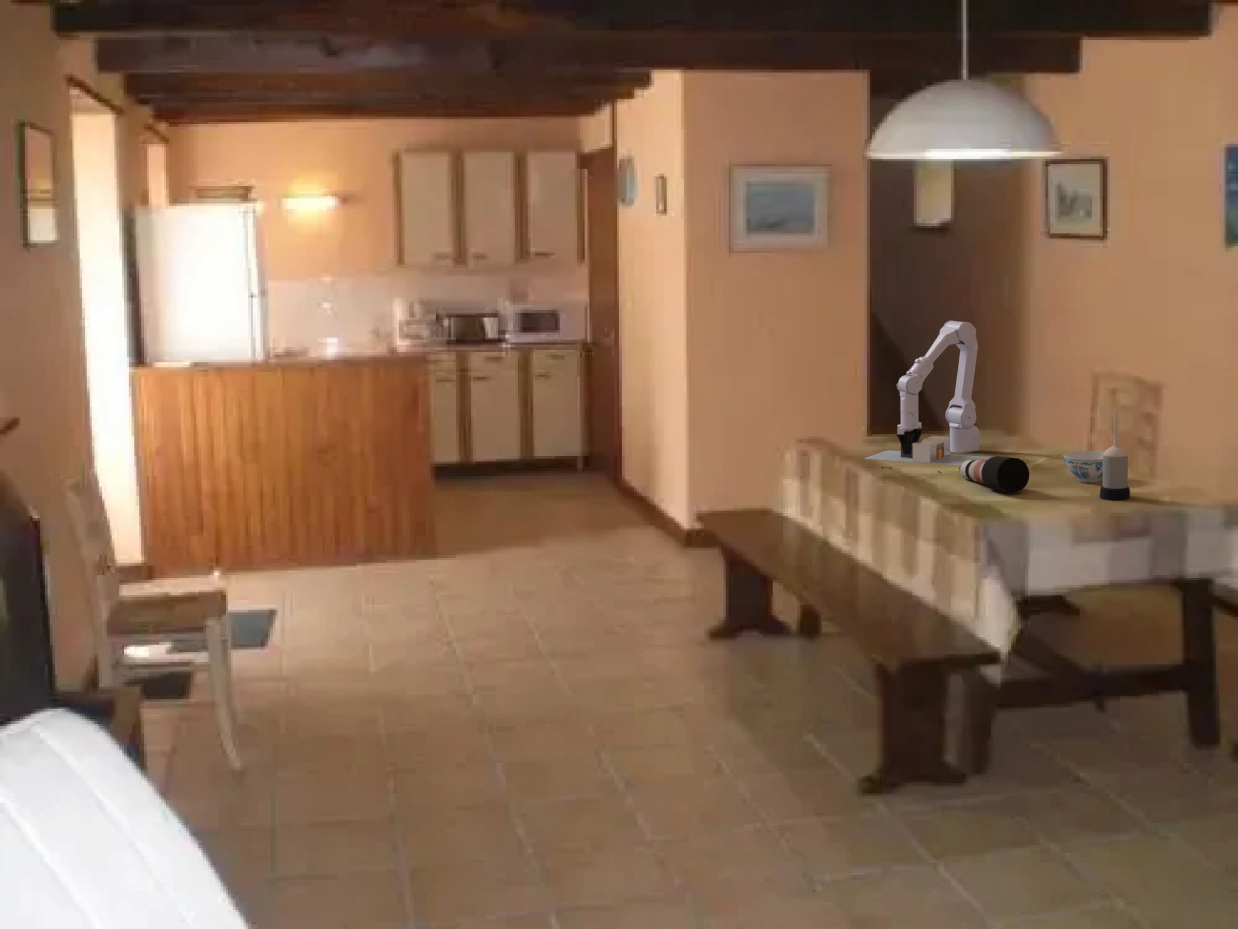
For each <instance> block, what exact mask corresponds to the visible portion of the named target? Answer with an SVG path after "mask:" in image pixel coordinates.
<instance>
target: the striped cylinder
mask: <svg viewBox="0 0 1238 929" xmlns="http://www.w3.org/2000/svg"><path fill="white" fill-rule="evenodd" d="M990 457H991V458H989V459H988V460H967V461H965V462H963V464H962V465H961V466H959V467H958V471H959V472H960V475H961V477H962V478H963V479H965V480H967V481H968V480H969V481H973V482H976V483H977V482H978V483H979V484H984V485H985V486H986V487H987V488H988V489H990V490H992V491H996V492H1004V493H1009V494H1014V493H1019V492H1021V491H1023V489H1025V487H1027V485H1028V483H1029V481H1030V470H1029V467H1028V465H1027V463H1026V462H1025V461H1024V460H1022V459H1020V458H1019V457H1009V456H1001V455H999V456H998V455H995V456H990Z"/></svg>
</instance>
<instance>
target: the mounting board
mask: <svg viewBox="0 0 1238 929" xmlns="http://www.w3.org/2000/svg"><path fill="white" fill-rule="evenodd" d="M991 457H992V456H981V455H980V456H979V455H967V454H965V455H964V454H951V453H950V455H949V456H946V457H942V458H941V459H936V461H933V462H930V463H928V462H916V463H919V464H920V463H921V464H932V465H934V464H935V465H949V466H959V467H960V466H961V465H962V464H963V462H965V461H967V460H988V459H989V458H991ZM863 459H865V460H877V461H878V460H879V461H892V462H893V461H894V462H902V463H904V462H906V463H915V462H914V461H913V458H907V457H901V450H892V449H891V450H890V449H887V450H884V451H881V452H879V453H875V454H873V455H870V456H867V457H864V458H863Z"/></svg>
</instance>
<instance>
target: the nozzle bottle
mask: <svg viewBox="0 0 1238 929" xmlns="http://www.w3.org/2000/svg"><path fill="white" fill-rule="evenodd" d="M1113 424H1114V429H1113V430H1114V431H1113V445H1112V446H1110V447H1109V448H1107V449H1106V450H1105V451H1103V452H1104V454H1103V477H1102V485H1101V487H1100V488H1099V498H1100V499H1101V500H1104V501H1115V502H1116V501H1127V500H1130V498H1131V488H1130V487H1129V486H1128V482H1129V480H1128V479H1129V478H1128V476H1129V471H1128V470H1129V456H1128V455H1129V454H1128V453H1127V451H1126V450H1125V449H1124V447H1121V446H1119V442H1120V433H1118V432H1119V429H1120V427H1119V426H1120V422H1118V409H1114V421H1113Z"/></svg>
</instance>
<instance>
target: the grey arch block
mask: <svg viewBox="0 0 1238 929" xmlns="http://www.w3.org/2000/svg"><path fill="white" fill-rule="evenodd" d="M936 449H942V457H946V456H949V455H950V454H951V451H950V436H943V435H942V436H941V435H931V436H929V437H927V438H924V439H921V440H920V439H919V441H917V442H914V443H913V461H914V462H913V463H917V462H928V463H927V464H931V463H930V462H933V461H936Z"/></svg>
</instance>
